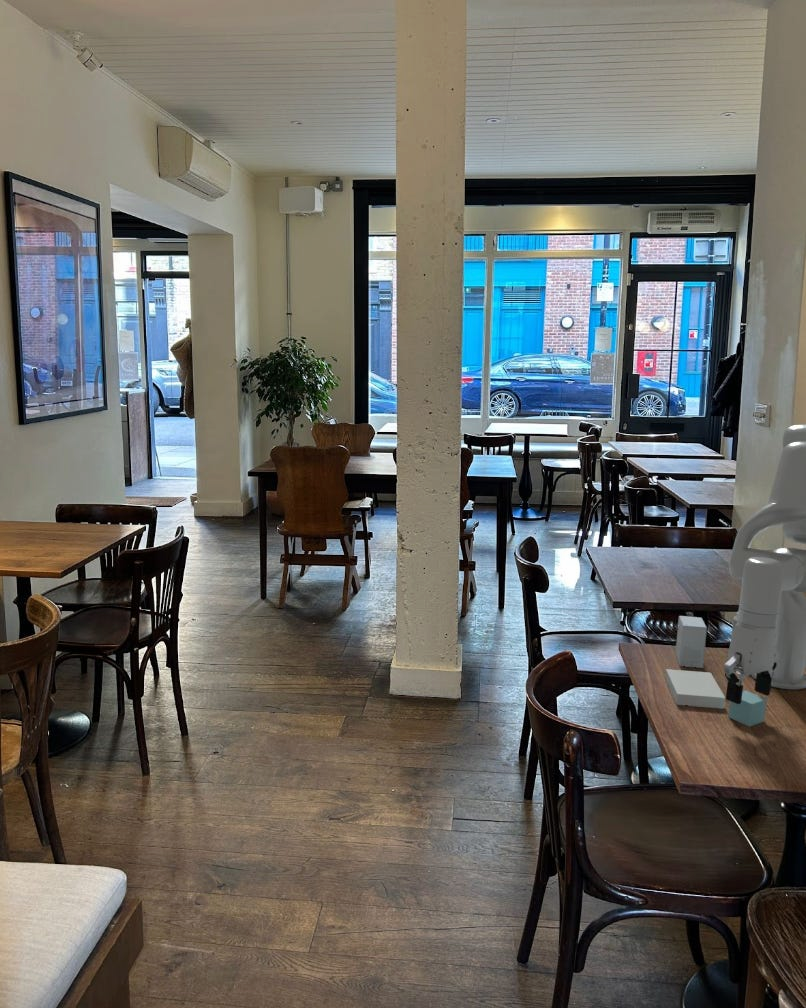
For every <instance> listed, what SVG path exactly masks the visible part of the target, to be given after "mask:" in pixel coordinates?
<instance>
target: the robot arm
mask: <svg viewBox="0 0 806 1008" xmlns="http://www.w3.org/2000/svg"><path fill="white" fill-rule="evenodd" d="M778 461H779V462H778V464H777V469H776V472H775V476H774V480H773V484H772V486H771V487H772V488H771V490H770V491H771V492H770V495H769V499H768V501H767V503H766V505H764V506H763V507H761V508H760V509H758V510H756V511H755V512H754V513H753V514H751V515H750V516H749V517H748V518H747V519H746V520H745V521H744V523H743V524H742V525H741V526H740V528H739V529H738V531H737V533H736V537H735V540H734V542H733V547H732V550H731V554H730V557H729V563H728V570H729V571H728V572H729V574H730V577H731V578H732V579H733V580H736V582H740V583H741V586H740V587H741V589H740V594H739V595H740V597H739V598H740V599H739V606H738V611H737V612H738V620H737V624H736V625H735V628H734V631H733V634H732V633H731V635H732V638H731V637H730V644H729V648H728V653H727V659H726V660H727V661H726V662H725V663H724V664H723V669H724V677H725V679H726V682H727V684H726V685H727V686H726V692H725V693H726V694H725V700H727V701H729V702H730V701H731V702H734V703H736V704H741V700H742V692H743V691H744V690H743V689H744V685H743V684H742V683H743V682H744V680H745V679H746V677H747V676H751V677H752V678H754V679H755V684H754V691H755V692H756V693H760V694H761V695H764V696H768V697H769V696H770V694H771V687H773V688H777V689H783V690H784V689H785V690H803V689H806V673H805V669H806V596H805V595H804V593H806V549H802V548H796V547H779V548H775V549H774V550H771V551H770V550H764V549H757V548H753V547H752V548H751V545H752V543H753V541H754V539H755V538H756V537H757V536H759V534H760V533H762V532H763V531H765V530H767V529H768V530H769V529H770V528H773V527H777V526H781V525H782V527H781V528H782V529H781V530H782V531H781V532H782V536H783V537H784V539H786V540H787V541H790V542H793V543H796V544H802V545H806V424H794V425H791V426H789V427H787V428H786V429H785V430H784V432H783V435H782V451H781V454H780V457H779V460H778ZM736 674H739V676H738V677H737V675H736Z"/></svg>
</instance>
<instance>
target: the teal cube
mask: <svg viewBox="0 0 806 1008" xmlns="http://www.w3.org/2000/svg"><path fill="white" fill-rule="evenodd" d="M767 701H768V698H765V697H763V696H760V695H758V694H756V693H753V692H750V691H749V690H745V689H744V690H743V692H742V700H741V704H736V703H734V702H731V701H729V709H728V716H727V717H728V718H730V719H732V720H734V721H736V722H738V723H740V724H742V725H745V726H747V727H752V726H755V725H758V724H761V723H763V722H765V719H766V718H765V717H766V708H767Z"/></svg>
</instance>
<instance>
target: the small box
mask: <svg viewBox="0 0 806 1008" xmlns="http://www.w3.org/2000/svg"><path fill="white" fill-rule="evenodd" d="M707 629H708V627H707V625H706V624H705V621H704V620H703V618H702V617H697V616H685V615H679V616H678V622H677V633H676V634H677V635H676V643H675V658H676V660H677V662H678V665H679V667H683V666H685V667H686V668H695V667H696V668H698V669H703V668H704V662H705V652H706V643H707V642H706V641H707V640H706V639H707ZM685 667H684V668H685Z"/></svg>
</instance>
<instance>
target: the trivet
mask: <svg viewBox="0 0 806 1008" xmlns="http://www.w3.org/2000/svg"><path fill="white" fill-rule="evenodd" d="M664 680H665V683H666V685H667V687H668V689H669V692H670V693H671V697H672V699H673V698H674V699H673V700H674V702H675V705H676V706H685V705H688V706H690V707H699V708H708V709H709V708H710V709H720V710H721V709H725V707H726V706H725V705H726V695H724V693H723V691H722V689H721V688H720V686H719V684H718V683H717V681H716V679H715V677H714V676H713V674H712V673H711V672H708V671H707V672H706V671H695V670H693V671H692V670H682V669H680V670H679V669H669V668H668V669H667V668H666V669H665V676H664Z"/></svg>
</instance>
